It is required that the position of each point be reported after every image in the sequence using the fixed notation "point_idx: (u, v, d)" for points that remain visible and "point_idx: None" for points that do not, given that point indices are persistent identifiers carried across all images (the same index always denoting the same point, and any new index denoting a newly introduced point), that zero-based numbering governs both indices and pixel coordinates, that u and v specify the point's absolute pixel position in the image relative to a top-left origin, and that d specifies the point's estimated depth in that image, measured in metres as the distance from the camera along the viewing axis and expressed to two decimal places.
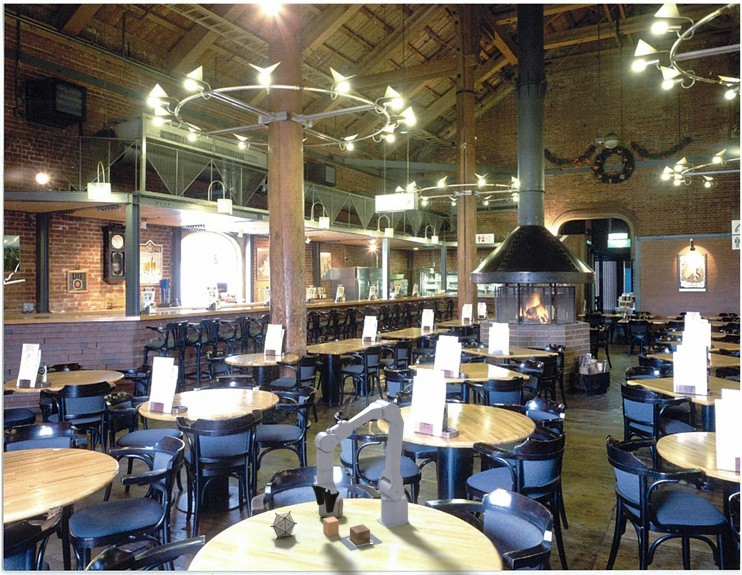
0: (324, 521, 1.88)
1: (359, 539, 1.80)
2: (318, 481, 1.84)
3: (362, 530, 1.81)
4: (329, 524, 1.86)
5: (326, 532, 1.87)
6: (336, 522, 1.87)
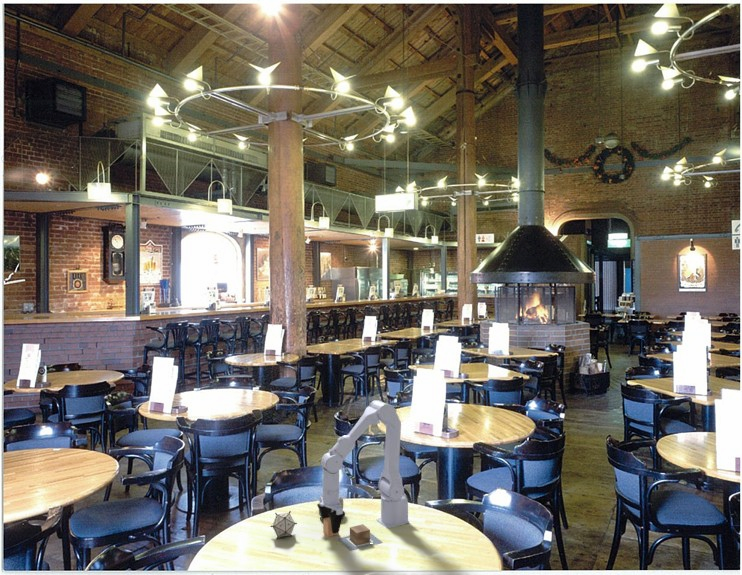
0: (324, 520, 1.88)
1: (359, 539, 1.80)
2: (324, 501, 1.87)
3: (362, 530, 1.81)
4: (329, 524, 1.86)
5: (326, 532, 1.87)
6: None
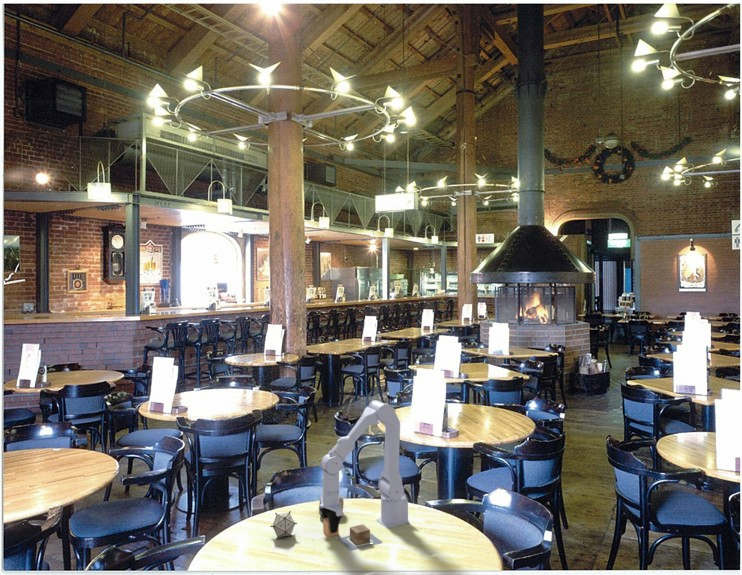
0: (324, 520, 1.88)
1: (359, 539, 1.80)
2: (324, 503, 1.87)
3: (362, 530, 1.81)
4: None
5: (326, 532, 1.87)
6: None
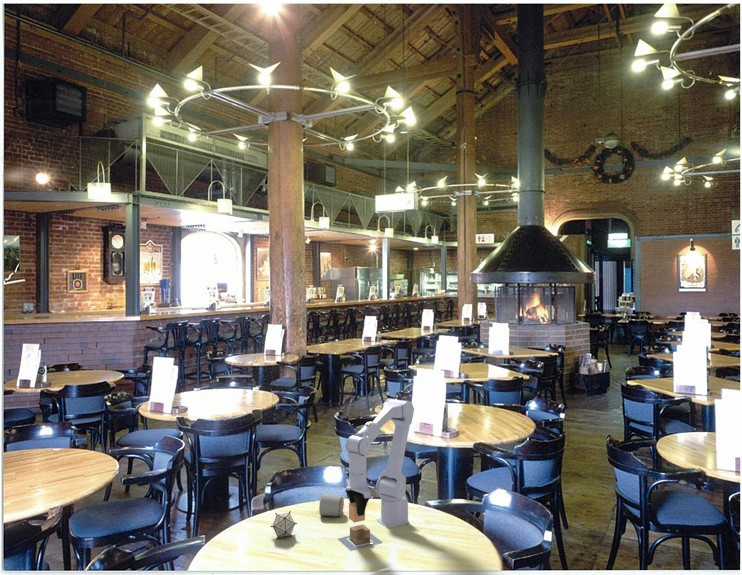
0: (350, 505, 1.83)
1: (359, 539, 1.80)
2: (351, 485, 1.81)
3: (362, 530, 1.81)
4: (355, 509, 1.80)
5: (352, 517, 1.81)
6: None
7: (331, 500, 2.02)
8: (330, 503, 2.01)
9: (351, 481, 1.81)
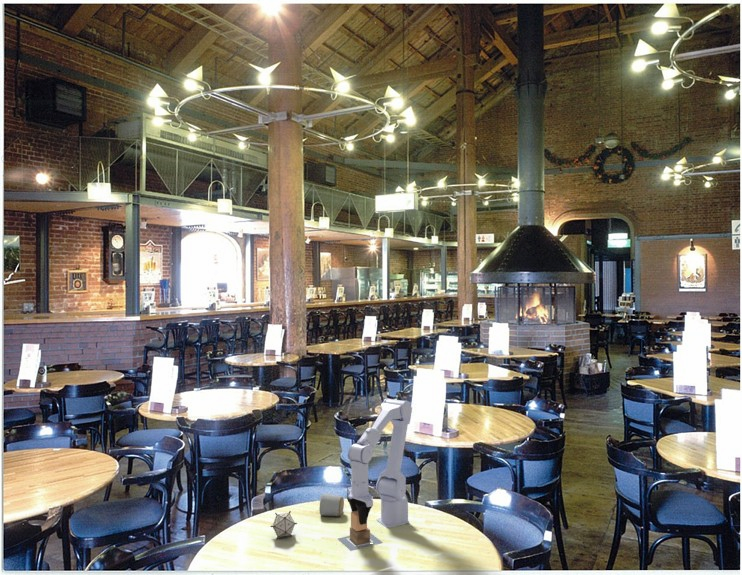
0: (352, 514, 1.82)
1: (359, 539, 1.80)
2: (353, 493, 1.81)
3: (362, 530, 1.81)
4: (357, 517, 1.80)
5: (354, 526, 1.81)
6: None
7: (331, 500, 2.02)
8: (330, 503, 2.02)
9: (353, 490, 1.81)
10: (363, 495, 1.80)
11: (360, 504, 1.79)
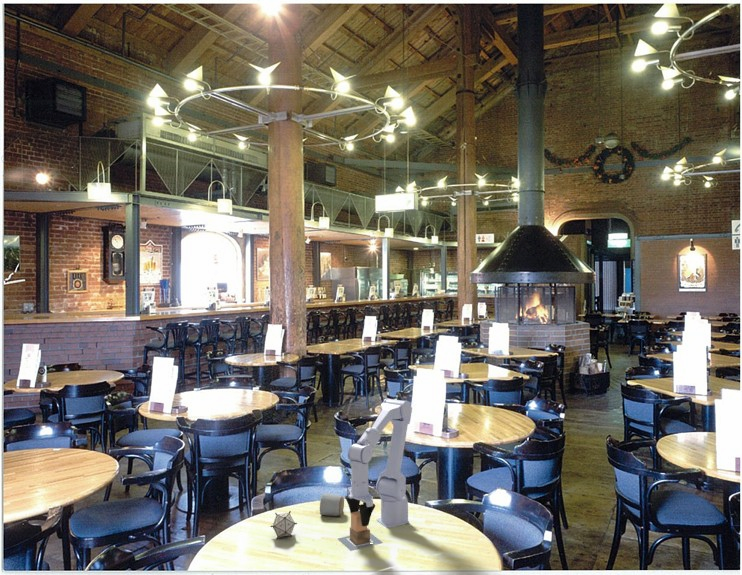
0: (352, 515, 1.82)
1: (359, 539, 1.80)
2: (353, 493, 1.81)
3: None
4: (357, 518, 1.80)
5: (354, 526, 1.81)
6: None
7: (331, 500, 2.02)
8: (330, 502, 2.02)
9: (353, 490, 1.81)
10: (363, 495, 1.80)
11: None
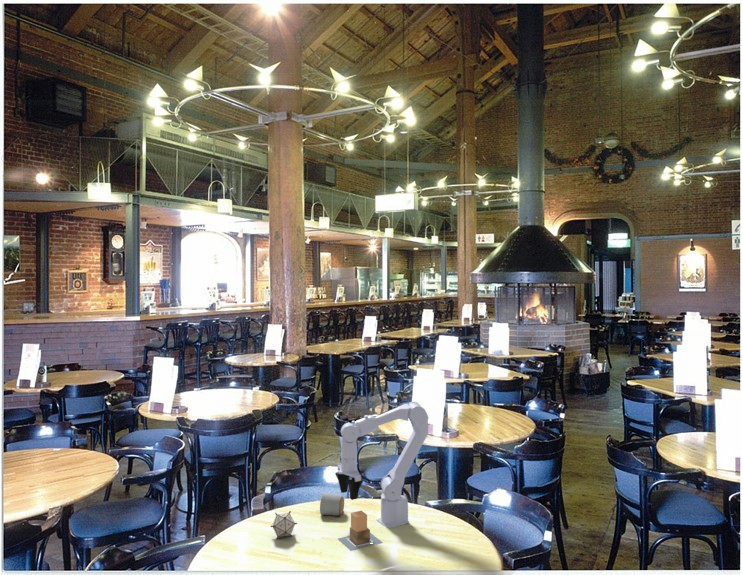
0: (352, 515, 1.82)
1: (359, 539, 1.80)
2: (343, 469, 1.94)
3: None
4: (357, 518, 1.80)
5: (354, 526, 1.81)
6: (364, 516, 1.81)
7: (331, 500, 2.03)
8: (330, 502, 2.02)
9: (343, 466, 1.94)
10: (352, 471, 1.94)
11: None
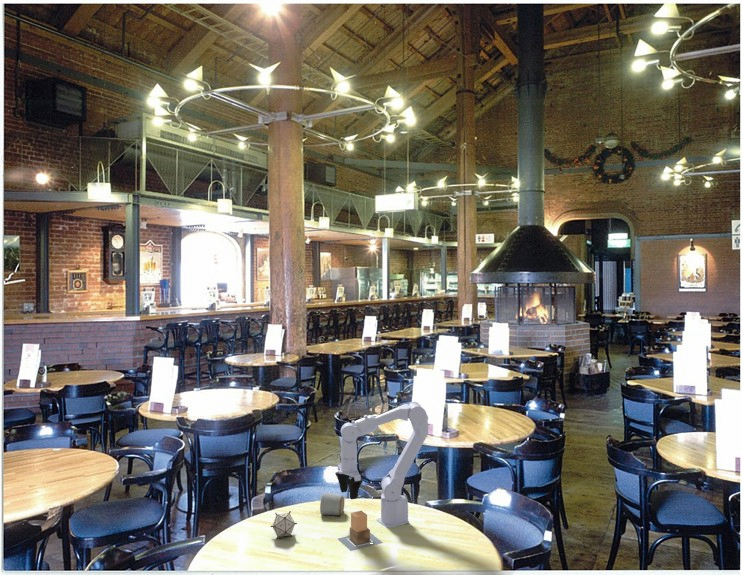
0: (352, 515, 1.82)
1: (359, 539, 1.80)
2: (342, 469, 1.95)
3: None
4: (357, 518, 1.80)
5: (354, 526, 1.81)
6: (364, 516, 1.81)
7: (332, 499, 2.03)
8: (330, 502, 2.02)
9: (342, 465, 1.95)
10: (352, 470, 1.94)
11: (349, 479, 1.92)
